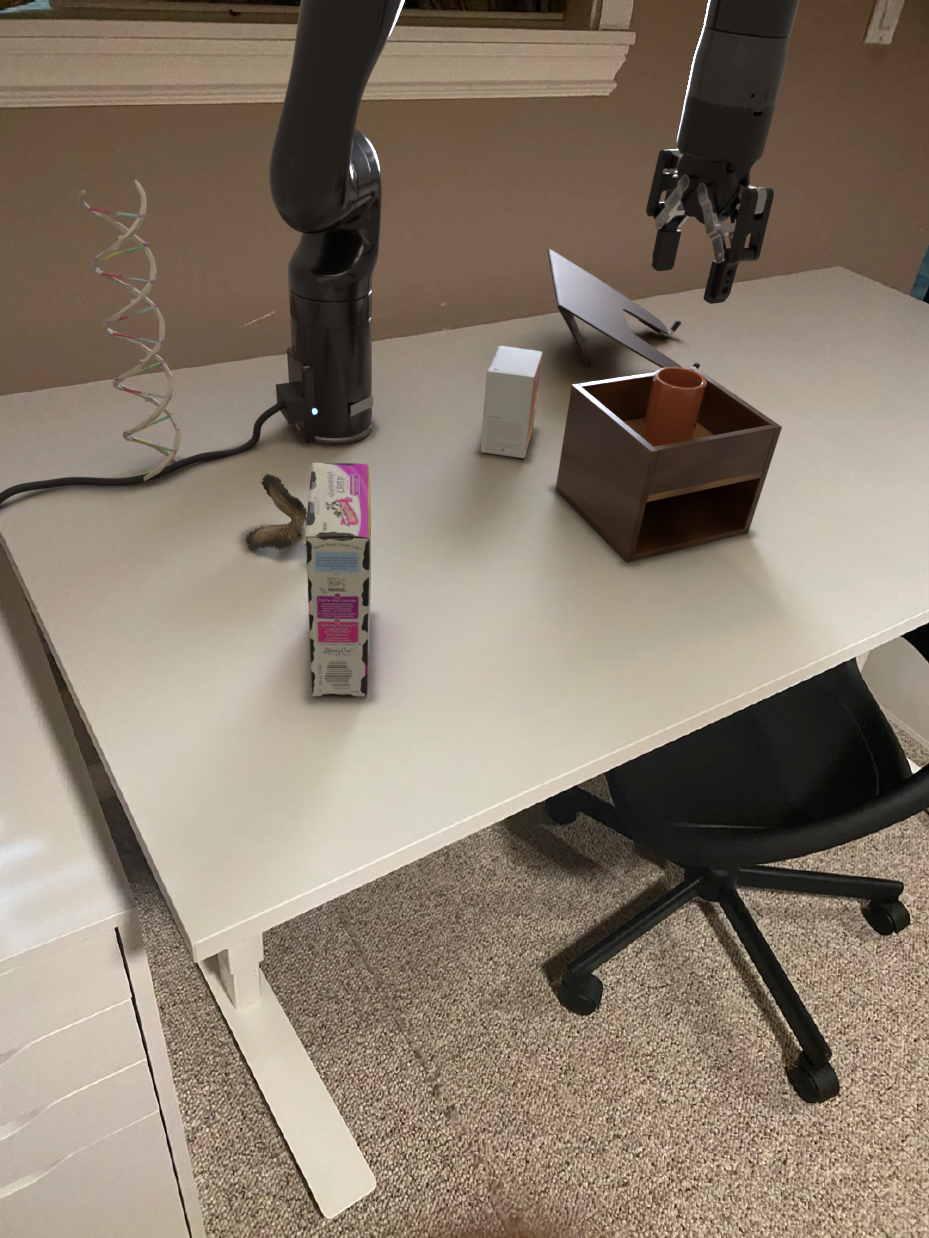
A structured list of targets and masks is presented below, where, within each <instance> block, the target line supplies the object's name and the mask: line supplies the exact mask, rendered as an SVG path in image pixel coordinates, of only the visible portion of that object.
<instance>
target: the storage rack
mask: <svg viewBox="0 0 929 1238" xmlns="http://www.w3.org/2000/svg"><path fill="white" fill-rule="evenodd" d="M684 368H686V369H690V370H693V371H695V372H698V373H699V374H701V375H702V376H704V377H705V379H706V381H707V384H706V388H705V392H704V396H703V400H702V404H701V408H700V412H699V416H698V420H697V424H696V428H695V432H694V436H693V440H687V441H682V442H677V443H671V444H666V445H661V446H655V447H653V446H652V445H651V444H649V443H648V442H647V441H646V440H645V439H643V438H642V437H641V435H642V430H643V425H644V420H645V416H646V411H647V406H648V402H649V397H650V392H651V387H652V383H653V378H654V374H655V372H656V371H653V372H647V373H646V372H645V373H640V374H634V375H627V376H619V377H614V378H608V379H607V378H606V379H601V380H593V381H588V382H580V383H574V384H573V383H572V384H571V387H570V393H569V399H568V407H567V411H566V419H565V425H564V431H563V437H562V445H561V452H560V459H559V465H558V471H557V478H556V485H555V491H556V493H558V494H559V495H560V496H561V498H563V499H564V500H565V502H566V503H568V504H569V505H570V507H572V508H573V510H574V511H576V512H577V514H578V515H579V516H580V517H581V518H582V519H583V520H584V521H585V522H586V523H588V525H589V526H590V527H591V528H592V529H593V530H594V531H595V532H596V533H597V534H598V535H599V536H600V537H601V538H602V539H603V540H604V541H605V542H606V543H607V545H609V546H610V547H611V549H612V550H614V551H615V552H616V553H617V555H619V556H620V557H621V558H622V559H623V560H624V562H625V563H632V562H635V561H639V560H643V559H646V558H652V557H656V556H660V555H663V554H667V553H672V552H676V551H680V550H684V549H689V548H693V547H697V546H701V545H705V544H709V543H714V542H717V541H721V540H726V539H730V538H734V537H738V536H742V535H746V534H749V532H750V528H751V527H752V526H751V525H752V523H753V519H754V517H755V513H756V510H757V507H758V503H759V501H760V497H761V495H762V491H763V489H764V485H765V482H766V479H767V475H768V472H769V469H770V466H771V463H772V460H773V458H774V454H775V450H776V447H777V445H778V441H779V438H780V435H781V432H782V429H783V426H782V425H780V424H778V423H777V422H776V421H774V420H773V419H771V418H770V417H769V416H767V415H765V414H764V413H763V412H761V411H760V410H758V409H757V408H755V407H754V406H752V405H751V404H750V403H748V402H747V401H745V400H744V399H742V398H741V397H740V396H739V395H736V394H735V393H734V392H732V390H731V391H730V389H728V388H726V386H723V385H722V384H720V383H719V382H718V381H717V380H715V379H714V378H712V377H710V376H709V375H707V374H706V373H704V372H703V371H702V370H700V368H698V369H697V368H696V367H694V366H693V365H692V366H688V367H687V366H686V367H684Z"/></svg>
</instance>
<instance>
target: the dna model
mask: <svg viewBox="0 0 929 1238" xmlns="http://www.w3.org/2000/svg"><path fill="white" fill-rule="evenodd" d="M133 184H134V186H135V188H136V190H137V192H138V193H137V194H138V195H139V197H140V203H141V204H140V208H139V213H138V214H136V213H129V212H124V211H123V212H121V211H117V212H115V215H116V216H121V217H125V218H126V217H127V218H132V219H135V220H134V222H133V223H132V225H131V226H130V227H129V228H127V226H125V225H124V224H123V223H122V222H120V221H117V220H115V219H114V218H113V217H110V216H108V215H106V214H112V215H113V212H114V211H113V210H108V209H102V208H97V207H96V208H95V207H91V206H90V205H89V204H88V203H87V202H86V201H85V196H86V192H87V191H86V190H85V189H83V190H81V191H80V192H79V193H78V194H77V196H76V198H77V203H78V204H79V206H80V207H81V208H82V210H84V211H85V212H88V213H90V214H91V215H93V216H95V217H97V218H99V219H100V220H102V221H104V222H105V223H107V224H109V225H110V226H112V227H114V228H116V229H117V230H118V231H120V232H121V233H123V234H124V235H118V236H117V237H118V238H117V240H116V241H115V242H114V243H113V244H111V245H110V246H109V247H107V249H105V250H104V251H102V252H101V253H99V254H98V255H96V256H95V257H93V259H92V262H91V263H90V267H89V269H90V270H91V271H92V272H93V273H94V274H95V275H96V276H99V277H101V278H103V279H105V280H108V281H110V282H112V283H114V284H117V285H119V286H120V287H121V288H123V289H124V290H125V291H127V292H128V293H130V294H132V295H133V296H134V297H136V298H133V299H130V303H129V304H128V305H126V306H125V307H123V308H122V309H120V310H119V311H118V312H116V313H115V314H114V315H112V316H110V317H109V318H105V319H101V321H102V322H103V323H102V324H101V330H102V331H103V332H104V333H105V334H107V335H108V336H110V337H112V338H115V339H119V340H121V341H124V342H125V343H128V344H129V345H132V346H133V347H135V348H138V349H140V350H141V351H142V352H144V353H145V354H146V355H145V357H144V358H142V359H139V363H138V364H137V365H136V366H134V367H132V368H131V369H130V370H128V371H125V372H124V373H123V374H121V375H119V376H117V377H111V379H112V386H113V388H115V389H117V390H119V391H123V392H127V393H129V394H131V395H134V396H137V397H140V398H142V399H144V402H145V403H147V402H150V403H151V404H152V405H154V406H156V409H155V410H154V411H153V412H152V413H151V414H148V417H147V418H146V419H144V420H143V421H141V422H140V423H138V424H137V425H135V426H134V427H133V428H130V429H127V430H124V431H122V438H123V439H124V440H125V441H126V442H134V443H137V444H142V445H145V446H148V447H150V448H152V449H154V450H156V451H158V453H160V454H162V455H164V456H166V457H165V459H164V460H163V461H162V462H161V463H160V464H158V466H157V467H155V468H154V469H153V470H151V471H150V472H148V473H149V474H147V475H146V476H144V481H146V480H148V479H150V478H151V477H153V476H155V475H156V474H158V473H160V472H161V471H162V470H163V469H164V468H165V467H166V466H168V465H170V464H171V462H172V461H173V463H175V462H177V461H179V459H178V458H176V457H175V456H177V455H176V454H177V453H178V451H179V448H180V444H181V440H182V436H181V428H180V427H181V426H180V425H179V422H178V420H177V418H176V415H174V413H173V412H172V411H171V410H170V409H169V408H168V407H167V406H168V405H169V403H170V401H171V400H172V397H173V394H174V388H175V384H174V378H173V374H172V371H171V370H170V368H169V365H168V364H167V362H166V361H165V360H164V359H163V358H162V357H161V356H160V355H158V352H159V351H160V350H161V348H162V347H163V344H164V343H165V338H166V337H165V336H166V335H165V334H166V324H165V319H164V318H163V317H164V316H163V315H162V313H161V311H160V309H159V308H158V306H159V305H160V303H158V302H153V300H151V299H150V298H149V297H148V295H149V294H150V293H151V292H152V289H153V287H154V285H155V283H156V280H157V274H158V268H157V263H156V259H155V257H154V255H153V253H152V251H151V249H150V248H149V245H150V244H151V242H149V241H144V240H143V239H142V238H140V236H139V235H137V232H138V231H139V230H140V229H141V226H142V225H143V222H144V221H145V217H146V215H147V205H148V204H147V203H148V202H147V194H146V191H145V189H144V188H143V186H142V184H141V183H140V182H139V180H137V179H134V182H133ZM111 212H112V213H111ZM130 240H132V241H133V242H135V244H137V245H138V246H135V247H132V248H129V249H125V250H121V251H117V250H118V249H119V248H121V247H123V245H125V244H126V243H128V241H130ZM139 250H143V252H144V254H145V257H146V258H147V259H148V261H149V264H150V268H149V279H147V280H146V279H141V278H137V277H132V276H127V277H125V276H123V275H122V274H117V273H116V274H115V273H112V272H105V271H103V270H102V269H100V267H99V263H100V262H101V261H104V260H108V259H111V258H114V257H117V256H118V257H119V256H120V255H121V256H122V255H124V254H129V253H132V252H136V251H139ZM116 251H117V252H116ZM124 277H125V278H124ZM120 279H124V280H129V281H131V282H137V283H142V284H145V286H144V287H143V288H142V290H140V289H138V288H136V287H134V284H131V283H125V282H124V281H122V280H120ZM141 302H143V303H145V304H146V305H147V306H148V307H145V308H142V309H140V310H137V311H134V312H133V315H131V317H133V316H136V315H139V314H143V313H146V312H149V311H152V312H153V313H154V315H155V316H156V318H157V319H158V324H159V326H158V328H159V331H158V340H156V339H150V338H144V337H139V338H138V337H135V338H133V336H132V335H129V334H123V333H120V332H118V331H115V330H113V329H111V328H110V326H111V325H113V324H114V323H116V322H119V321H122V320H125V319H128V318H129V317H130V315H129V313H130V312H131V311H133V310H134V309H135V308H137V307H138V306H139V305H140V304H141ZM140 341H141V342H140ZM142 342H145V343H149V344H154V345H155V346H154V347H152V349H151V348H149V347H148V346H146V345H145V344H144V343H142ZM153 360H154V361H156V362H155V363H153V364H151V365H148V364H150V363H152V361H153ZM147 365H148V366H147ZM158 366H160V367H161V368H162V370H163V371H162V372H164V375H165V376H166V378H167V380H168V385H167V390H166V394H165V395H163V394H157V393H152V392H145V391H141V390H137V389H134V388H131V387H129V386H126V385H124V384H121V383H122V382H124V381H125V380H126V379H128V378H131V377H134V376H137V375H138V374H141V373H143V372H146V371H148V370H150V369H153V368H156V367H158ZM157 398H159V399H164V400H163V401H162V402H160V400H158V399H157ZM163 413H164V414H166V416H163V417H161V418H159V417H160V416H161V415H162V414H163ZM158 418H159V419H158ZM169 419H170V421H171V424H172V426H173V428H174V430H175V436H174V441H173V445H172V448H169V447H165V446H161V445H160V444H157V443H154V442H153V441H151V440H148V439H145V438H141V437H136V435H134V434H136V433H138V432H140V431H142V430H145V429H148V428H149V427H152V426H153V425H156V424H159V423H160V422H164V421H166V420H169Z"/></svg>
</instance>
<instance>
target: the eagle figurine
mask: <svg viewBox="0 0 929 1238" xmlns="http://www.w3.org/2000/svg"><path fill="white" fill-rule="evenodd" d="M261 479H262V481H261V485H262V486H263V488H262V489H263V490H264V491H266V495H267V496H268V497H269V498H271V500H272V502H273V504H274V506H276V508H277V509H278V510H279V511H280V512H282V513H283V514H284V515H286V516H287V517H289V518H290V521H289V522H288V523H284V524H283V523H282V524H281V523H280V524H267V525H262V526H260V527H258V528H255V529H254V530H251V531H250V532H248V534H246V536H245V537H246V538H245V541H246V545H247V546H248V548H251V549H253V550H254V549H256V550H259V549H260V548H261V549H262V548H263V549H265V548H275V549H278V550H281V549H284V548H289V547H290V546H292V545H293V543H294V542H295V541H296V540H297V539H299V538H301V542H302V546H303V547H304V546H305V547H306V537H305V533H306V519H307V507H305V504H304V503H303V502H302V501H301V500H300V499H299V497H297V496H294V495H291V493H290V492H289V490H288V489H287V487H285V484H283V481H282V479H281V478H279V476H276V475H273V474H270V473H269V474H268V473H266V474H265V475H264V476H263V477H262V478H261Z"/></svg>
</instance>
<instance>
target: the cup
mask: <svg viewBox="0 0 929 1238" xmlns="http://www.w3.org/2000/svg"><path fill="white" fill-rule="evenodd" d="M654 372H655V374H654V378H653V383H652V387H651V392H650V397H649V402H648V406H647V411H646V416H645V420H644V425H643V430H642V435H641V437H642V438H643V439H645V440H646V441H647V442H648V443H649V444H651V445H652V446H653V447H655V446H661V445H666V444H671V443H677V442H682V441H687V440H693V436H694V432H695V428H696V424H697V420H698V416H699V412H700V408H701V404H702V400H703V396H704V392H705V388H706V384H707V381H706V379H705V377H704V376H702V375H701V374H699V373H698V372H695V371H693V370H690V369H686V368H685V367H682V368H680V367H665V368H661V367H660V368H659V369H657V370H656V371H654Z"/></svg>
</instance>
